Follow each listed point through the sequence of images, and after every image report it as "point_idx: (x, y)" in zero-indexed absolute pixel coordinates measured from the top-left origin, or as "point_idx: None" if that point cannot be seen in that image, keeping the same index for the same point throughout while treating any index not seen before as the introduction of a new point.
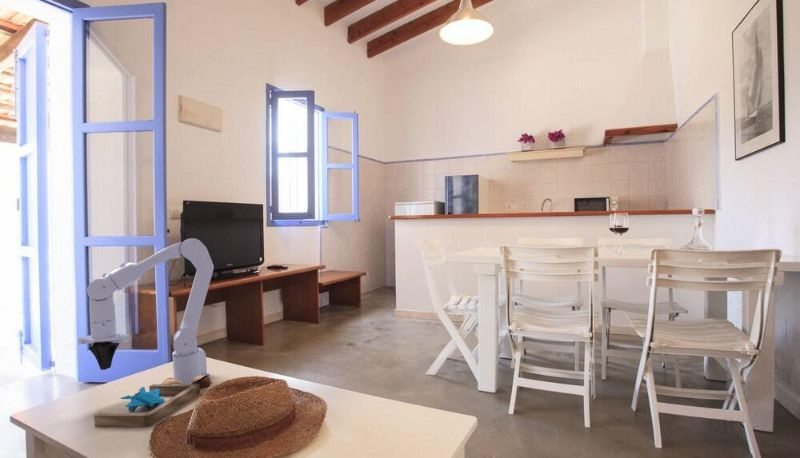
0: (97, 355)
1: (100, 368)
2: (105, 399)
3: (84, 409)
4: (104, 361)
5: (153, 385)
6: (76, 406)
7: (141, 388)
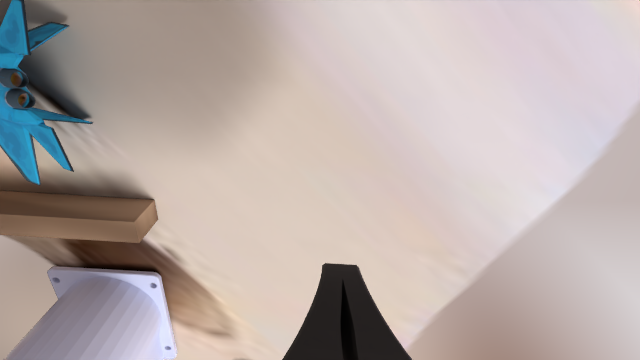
0: (371, 356)
1: (356, 270)
2: (332, 172)
3: (348, 69)
4: (311, 307)
5: (120, 228)
6: (421, 107)
7: (58, 150)
